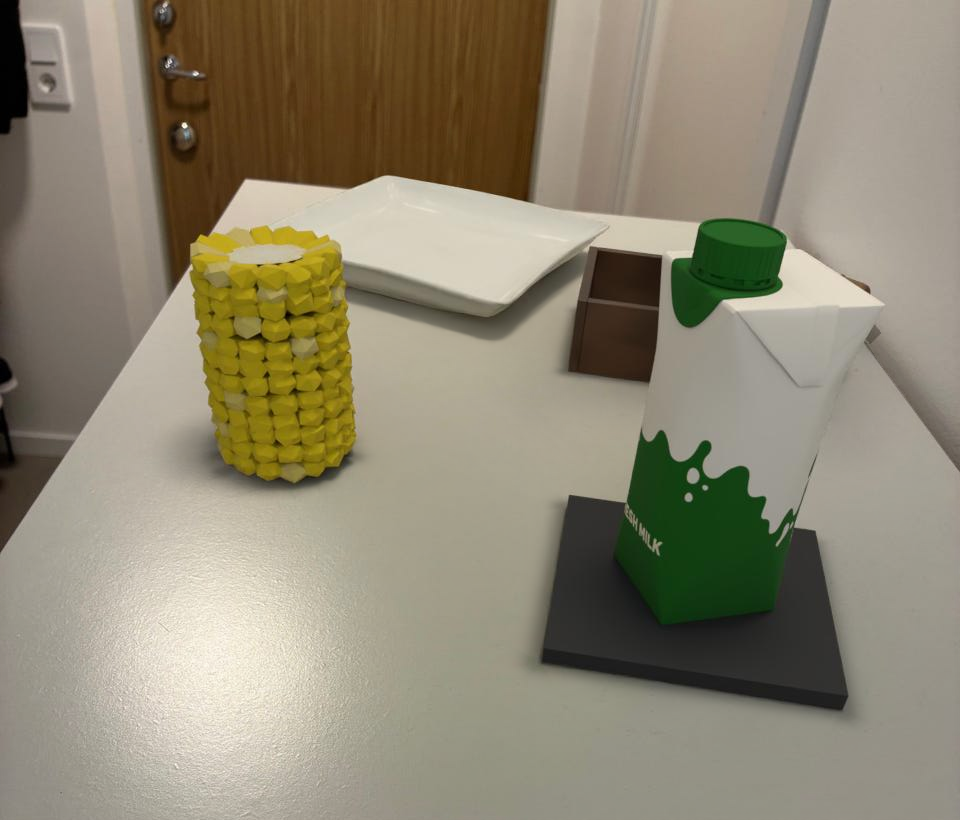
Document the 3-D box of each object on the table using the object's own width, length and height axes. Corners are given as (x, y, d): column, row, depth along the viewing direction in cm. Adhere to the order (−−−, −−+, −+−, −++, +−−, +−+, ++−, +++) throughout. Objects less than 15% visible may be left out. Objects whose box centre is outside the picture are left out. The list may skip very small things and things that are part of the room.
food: (266, 522, 64) (204, 459, 70) (416, 444, 68) (344, 392, 74) (183, 301, 53) (119, 251, 59) (367, 224, 57) (288, 185, 63)
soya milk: (593, 548, 60) (654, 202, 47) (726, 533, 62) (818, 200, 49) (652, 639, 53) (742, 267, 40) (798, 619, 56) (926, 261, 43)
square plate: (384, 206, 112) (385, 169, 110) (609, 257, 104) (614, 219, 102) (240, 273, 93) (236, 230, 90) (501, 343, 85) (505, 298, 82)
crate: (726, 330, 91) (741, 265, 87) (732, 393, 80) (750, 322, 77) (580, 311, 92) (589, 245, 88) (567, 371, 81) (577, 299, 78)
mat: (811, 543, 64) (815, 530, 63) (843, 709, 52) (848, 695, 51) (567, 507, 65) (568, 494, 64) (541, 661, 53) (543, 647, 52)
